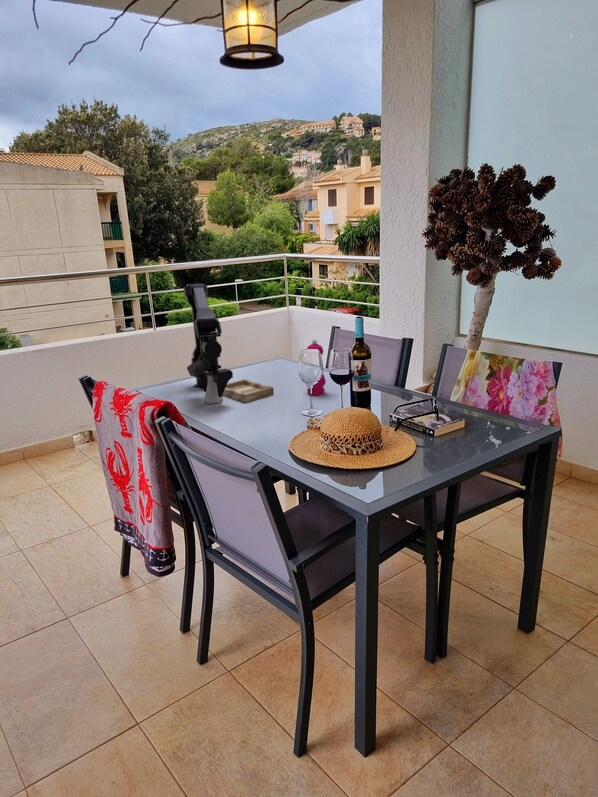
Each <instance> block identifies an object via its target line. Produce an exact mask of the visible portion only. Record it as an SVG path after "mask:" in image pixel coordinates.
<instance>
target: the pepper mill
mask: <svg viewBox="0 0 598 797" xmlns="http://www.w3.org/2000/svg"><path fill="white" fill-rule="evenodd" d="M307 349H318V350H319V351H320V353H321V355H322V356H323V354H324V348H323V346H322V345H320V344H318V340H316V339H313V340H312V342H311V344H309V345H308V346H307V347H306V350H307ZM305 385H306V386H307V389H306V391H307V395H309V394H310V389H309V386H308V385H307V384H306V383H305ZM325 385H326V377H325V375H324V374H323V375H322V378H321V379H320V380H319V381H318V383H316V384H315V385H313V388H312V395H311V396H313V395H315V396H317V395H318V396H322V394H323V395H325V387H324V386H325ZM315 396H314V397H315ZM318 396H317V397H318Z"/></svg>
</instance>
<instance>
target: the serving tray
mask: <svg viewBox="0 0 598 797" xmlns="http://www.w3.org/2000/svg"><path fill="white" fill-rule="evenodd" d="M223 395H224V396H223ZM223 395H222V396H223V397H226V396H227V397H226V398H229V397H230V399H232V398H233V399H232V400H235V399H236V400H235V401H238V400H239V402H241V401H242V403H244V402H245V404H248V403H252V402H254V401H258V400H261V399H264V398H268V397H271V396H274V395H275V393H274V387H273V386H270V385H266V384H263V383H260V382H259V383H258V382H255V381H253V380H248V379H247V378H246V379H241V380H237V381H234V382H230V383H229V382H228V383H227V385H226V388H225V390H224V392H223ZM247 402H248V403H247Z"/></svg>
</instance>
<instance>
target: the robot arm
mask: <svg viewBox="0 0 598 797" xmlns="http://www.w3.org/2000/svg"><path fill="white" fill-rule="evenodd" d="M208 295H209V292H208V284H204V283H187V284H186V286H183V296H184V298H185V300H186V303H187V305H189V307H190V308H191V316H192V324H193V333H194V342H195V347H194V350H193V351H192V357H191V362H190V363H191V364H189V365H188V366H186V369H187V372H188V374H189V376H191V377H193V378H196V379H195V380H196V383H195V384H193V387H195V388H197V389H198V388H199V389H201V390H202V391H203V392H204V393H206V389H207V384H208V377H207V374H212V377H213V379H214V380H213V381H214V382H215V383H216V386H217V391H218V396H219V397H222V398H223V392H224V390H225V388H226V385H227V384H229V381H231V379H233V378H234V372H233V371H232V370H231V369H228V368H222V365H220V364H219V358H221V354H222V352H223V351H222V350H223V348H222V345H221V344H220V342H219V341H218V339H217V338H218V337H222V327H221V322H220V321H219V319H218V318H217V317H216V314H215V312H214V311H212V310H211V309H210V306H209V302H208V299H207V298H208V297H207V296H208Z"/></svg>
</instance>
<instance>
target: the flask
mask: <svg viewBox="0 0 598 797" xmlns="http://www.w3.org/2000/svg"><path fill="white" fill-rule="evenodd" d="M207 377H208V384H207V389H206V392H204V398H203V400H202V401H203V404H206V405H209V404H210V405H215V404H220V403H223V401H224V399H223V396H222V397H219V396H218V391H217V386H216V383H215V382H214V381H213V380H214V379H213V377H212V374H207Z"/></svg>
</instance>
